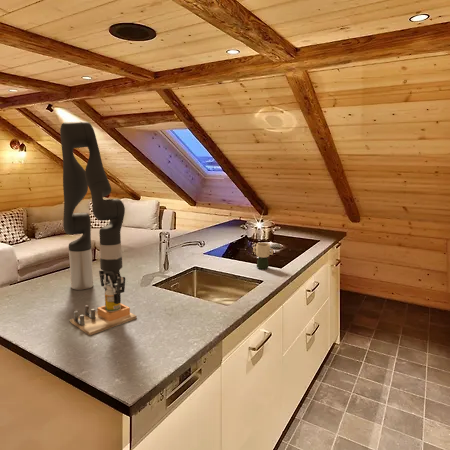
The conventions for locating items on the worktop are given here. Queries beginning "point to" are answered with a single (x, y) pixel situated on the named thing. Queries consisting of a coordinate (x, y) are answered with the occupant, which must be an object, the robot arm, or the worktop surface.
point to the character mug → (262, 254)
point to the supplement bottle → (111, 300)
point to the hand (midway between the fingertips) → (113, 300)
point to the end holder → (113, 313)
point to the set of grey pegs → (81, 321)
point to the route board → (101, 323)
